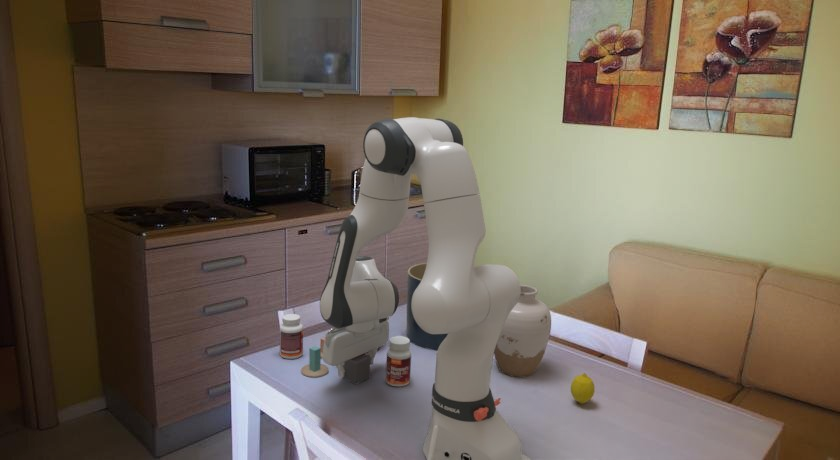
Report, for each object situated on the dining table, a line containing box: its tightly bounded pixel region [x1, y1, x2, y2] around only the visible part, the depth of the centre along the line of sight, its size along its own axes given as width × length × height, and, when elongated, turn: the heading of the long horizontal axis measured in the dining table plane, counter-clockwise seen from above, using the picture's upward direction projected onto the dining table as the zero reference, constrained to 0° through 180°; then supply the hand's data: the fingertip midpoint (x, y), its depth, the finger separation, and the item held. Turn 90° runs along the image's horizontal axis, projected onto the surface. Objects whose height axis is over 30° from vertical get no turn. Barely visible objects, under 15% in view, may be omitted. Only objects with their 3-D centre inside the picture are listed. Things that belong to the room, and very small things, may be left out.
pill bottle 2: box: [385, 335, 412, 387], centre depth 153 cm, size 6×6×11 cm
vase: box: [493, 284, 552, 378], centre depth 161 cm, size 16×16×23 cm
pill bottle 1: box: [279, 313, 304, 360], centre depth 165 cm, size 6×6×11 cm
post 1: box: [300, 345, 330, 379], centre depth 156 cm, size 7×7×6 cm
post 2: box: [319, 336, 325, 359], centre depth 167 cm, size 6×6×4 cm
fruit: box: [570, 372, 595, 405], centre depth 146 cm, size 6×6×8 cm
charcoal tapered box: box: [342, 353, 371, 385], centre depth 154 cm, size 5×5×6 cm
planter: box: [405, 262, 448, 351], centre depth 181 cm, size 22×22×20 cm
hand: (356, 370), depth 154 cm, fingers open, 8 cm apart
